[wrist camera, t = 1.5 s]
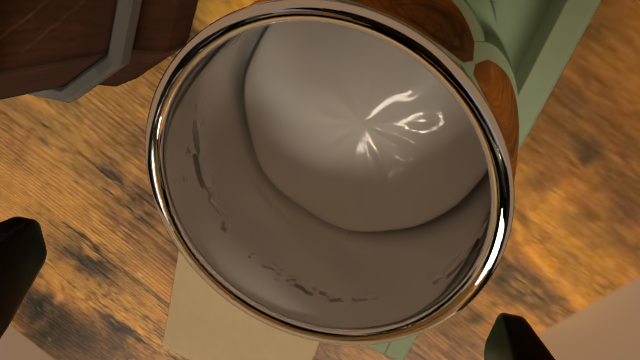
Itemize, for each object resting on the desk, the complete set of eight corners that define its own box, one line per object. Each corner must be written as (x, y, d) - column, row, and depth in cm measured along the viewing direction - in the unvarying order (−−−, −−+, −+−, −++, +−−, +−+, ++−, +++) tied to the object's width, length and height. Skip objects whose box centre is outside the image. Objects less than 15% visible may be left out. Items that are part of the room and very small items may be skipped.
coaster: (337, 299, 30) (334, 305, 29) (295, 402, 35) (292, 409, 34) (186, 232, 31) (180, 237, 31) (166, 340, 36) (161, 346, 36)
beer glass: (309, 39, 23) (77, 184, 10) (419, -97, 19) (275, -135, 7) (420, 144, 24) (332, 404, 11) (546, 31, 20) (638, 220, 7)
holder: (609, -57, 19) (631, -52, 16) (412, 317, 29) (402, 363, 26) (344, -143, 20) (318, -154, 17) (244, 244, 30) (217, 279, 27)
